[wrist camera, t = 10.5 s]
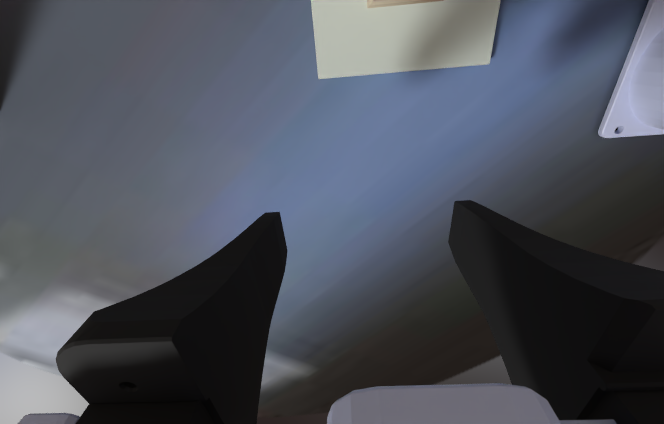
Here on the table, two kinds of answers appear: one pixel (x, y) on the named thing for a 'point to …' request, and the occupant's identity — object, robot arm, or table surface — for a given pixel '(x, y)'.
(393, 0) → the birch block
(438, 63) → the tile
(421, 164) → the table surface
